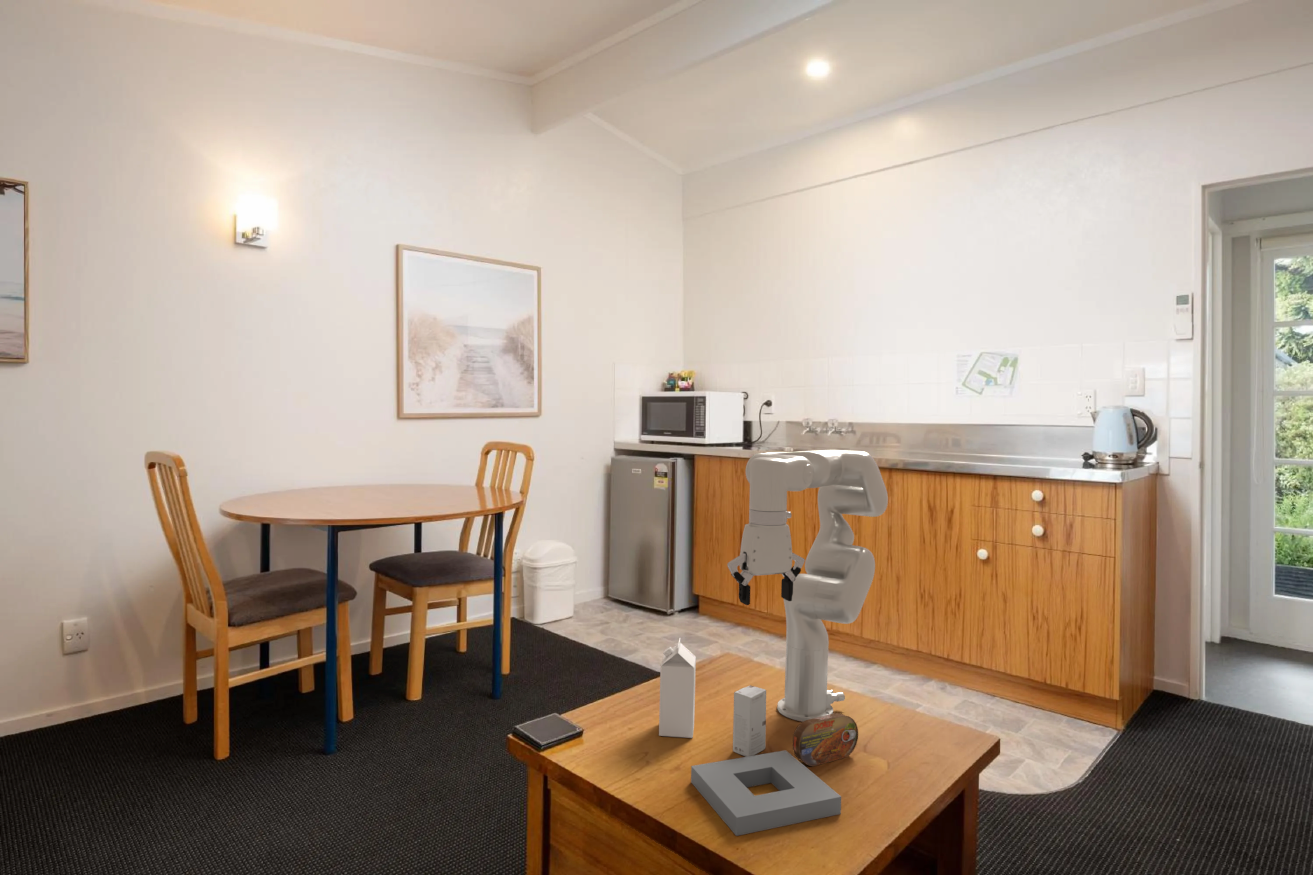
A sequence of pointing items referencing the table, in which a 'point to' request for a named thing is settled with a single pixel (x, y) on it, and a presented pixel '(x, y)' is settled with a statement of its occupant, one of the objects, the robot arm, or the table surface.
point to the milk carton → (677, 692)
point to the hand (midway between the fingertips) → (765, 601)
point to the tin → (825, 739)
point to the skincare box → (749, 721)
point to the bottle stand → (749, 813)
